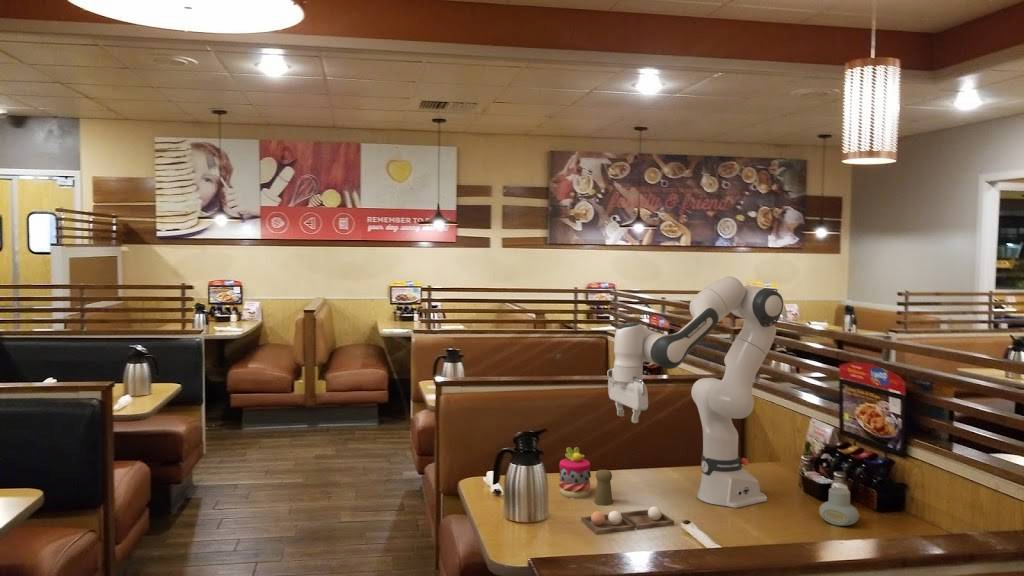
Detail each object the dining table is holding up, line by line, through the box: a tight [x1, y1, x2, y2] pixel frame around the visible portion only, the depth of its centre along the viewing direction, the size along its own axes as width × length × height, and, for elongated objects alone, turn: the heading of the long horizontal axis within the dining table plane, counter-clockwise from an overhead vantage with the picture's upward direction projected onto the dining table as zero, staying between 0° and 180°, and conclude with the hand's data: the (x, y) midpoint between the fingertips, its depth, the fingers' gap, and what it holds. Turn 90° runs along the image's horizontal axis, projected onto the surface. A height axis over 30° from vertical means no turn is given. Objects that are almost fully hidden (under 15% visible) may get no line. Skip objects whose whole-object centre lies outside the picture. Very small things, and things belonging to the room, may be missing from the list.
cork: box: [593, 469, 614, 507], centre depth 232 cm, size 6×6×11 cm
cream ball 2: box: [647, 506, 662, 520], centre depth 217 cm, size 4×4×4 cm
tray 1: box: [580, 513, 635, 536], centre depth 212 cm, size 12×11×2 cm
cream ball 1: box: [608, 510, 622, 525], centre depth 213 cm, size 4×4×4 cm
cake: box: [558, 446, 592, 500], centre depth 242 cm, size 10×11×15 cm
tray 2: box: [619, 508, 675, 531], centre depth 216 cm, size 12×11×2 cm
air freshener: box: [818, 486, 860, 527], centre depth 217 cm, size 11×8×10 cm
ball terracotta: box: [590, 510, 605, 526], centre depth 212 cm, size 4×4×4 cm
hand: (627, 419), depth 224 cm, fingers open, 8 cm apart
